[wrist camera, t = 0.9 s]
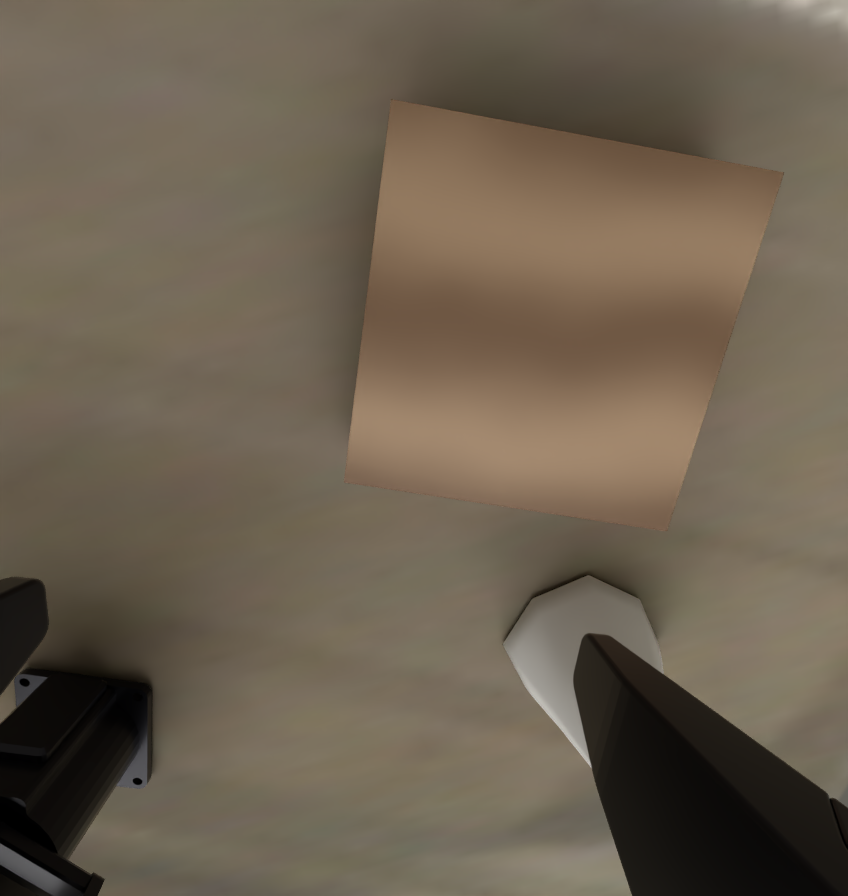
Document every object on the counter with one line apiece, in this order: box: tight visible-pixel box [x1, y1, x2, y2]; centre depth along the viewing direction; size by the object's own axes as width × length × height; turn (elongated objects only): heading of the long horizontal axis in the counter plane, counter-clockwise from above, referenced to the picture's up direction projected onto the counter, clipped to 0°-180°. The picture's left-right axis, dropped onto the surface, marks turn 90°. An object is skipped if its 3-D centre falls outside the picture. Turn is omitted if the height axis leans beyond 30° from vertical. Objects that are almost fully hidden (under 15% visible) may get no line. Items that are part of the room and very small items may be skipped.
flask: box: [503, 575, 664, 768], centre depth 19 cm, size 7×7×10 cm
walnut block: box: [344, 99, 784, 531], centre depth 18 cm, size 12×12×4 cm
